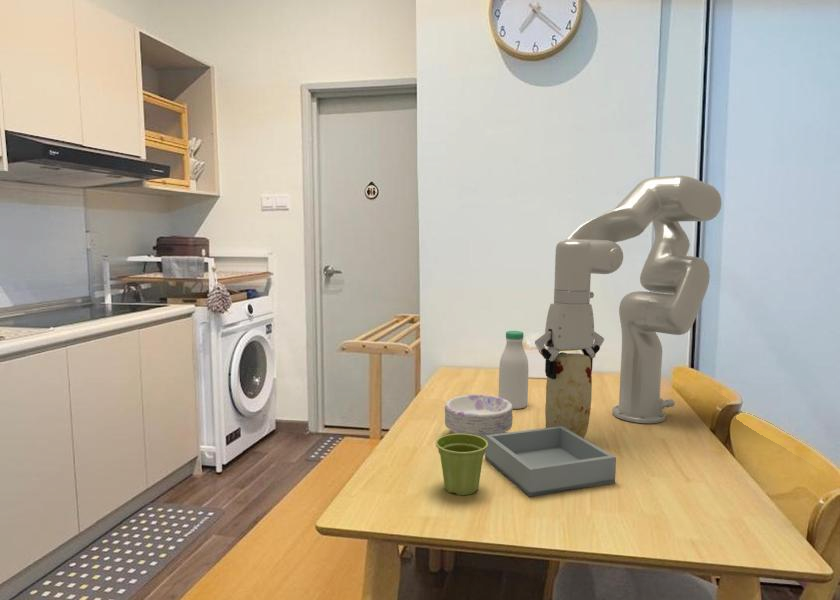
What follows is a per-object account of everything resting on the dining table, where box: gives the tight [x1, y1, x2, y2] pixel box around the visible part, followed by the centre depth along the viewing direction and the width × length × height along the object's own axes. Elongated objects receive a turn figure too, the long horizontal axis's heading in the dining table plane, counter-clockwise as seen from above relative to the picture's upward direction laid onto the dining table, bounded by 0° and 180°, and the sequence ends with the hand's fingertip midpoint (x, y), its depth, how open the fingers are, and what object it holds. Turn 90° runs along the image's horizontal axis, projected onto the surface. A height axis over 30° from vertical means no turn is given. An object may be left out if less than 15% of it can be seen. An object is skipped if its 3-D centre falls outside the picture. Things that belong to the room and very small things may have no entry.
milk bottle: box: [498, 330, 529, 410], centre depth 153 cm, size 8×8×20 cm
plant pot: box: [435, 433, 488, 496], centre depth 104 cm, size 9×9×9 cm
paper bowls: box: [444, 394, 514, 439], centre depth 130 cm, size 15×15×8 cm
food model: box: [544, 351, 593, 439], centre depth 128 cm, size 10×7×20 cm
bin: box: [484, 426, 617, 498], centre depth 112 cm, size 18×18×5 cm
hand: (568, 376), depth 127 cm, fingers closed on food model, 8 cm apart
